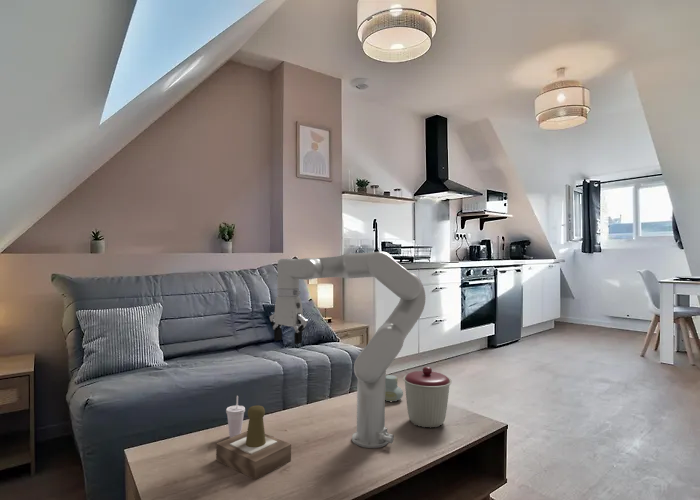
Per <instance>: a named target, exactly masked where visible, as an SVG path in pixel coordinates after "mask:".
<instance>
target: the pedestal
mask: <svg viewBox="0 0 700 500" xmlns="http://www.w3.org/2000/svg"><path fill="white" fill-rule="evenodd" d="M247 431H248V430H245V431H244V432H241V434H239V435H236V436H234V437H231V438H230V437H229V438H227V439H224V440H221V441H219V442H216V445H215V446H216V448H215V450H216V451H215V461H216V462H219V463H221V464H223V465H225V466H226V467H229V468H231V469H233V470H234V471H237V472H239V473H241V474H243V475H244V476H247V477H249V478H251V479H252V480H255V481H256V480H258V479H259V478H261V477H263V476H266V475H267V474H268V473H271V472H272V471H275V470H276V469H279V468H280V467H283V466H285V465H286V464H287V463H290V462H291V461H292V443H289V442H287V441H284V440H282V439H279V438H278V437H274V436H271V435H269V434H266V433H265V440H266V443H265V444H264V445H263V446H260V447H248V446H246V438H247Z"/></svg>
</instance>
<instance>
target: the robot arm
mask: <svg viewBox="0 0 700 500" xmlns="http://www.w3.org/2000/svg"><path fill="white" fill-rule="evenodd" d="M324 278H325V279H326V278H343V279H359V278H361V279H363V278H375V279H376V280H377V281H378V282H380V283H381V284H382V285H383V286H385V287H386V288H387V289H388V290H389V291H390V292H392V293H393V294H394V295H395V296H397V297H399V302H398V303H397V305H395V308H394V309H393V310H392V312H391V314H389V316H388V317H387V319H386V320H385V321H384V322H383V324H382V325H380V327H379V328H378V329H377V330H376V332H375V334H373V336H372V338H371V339H370V340H369V342H368V343H367V345H366V346H365V347H364V348H363V349H362V350H361V351H360V352H359V353H358V356H357V357H356V359H355V361H354V363H353V372H354V376H355V377H356V378H357V388H356V389H357V390H356V391H357V393H356V394H357V395H356V431H355V432H354V433H353V434H352V436H351V440H352V442H353V444H354V445H357V446H359V447H361V448H365V449H366V448H367V449H377V448H382V447H384V446H386V445H387V444H393V442H394V434H392V433H388V428H387V427H385V426H386V425H385V421H386V420H385V419H386V418H385V417H386V416H385V415H386V411H385V410H386V401H385V379H386V376H387V370H388V368H389V367H390V365H392V363H393V361H394V360H395V359H396V357H397V356H398V355H399V353H400V352H401V350H402V348H403V346H404V342H405V339H406V338H407V336H408V335H409V333H411V330H412V329H413V328H414V327H415V324H416V323H417V322H418V320H419V319H420V317H421V316H422V314H423V312H424V310H425V305H426V291H425V288H424V285H423V283H422V280H421V279H420V278H419V276H418V275H416V273H413V272H410V271H409V270H408V269H406V268H405V267H404V266H402V264H400V263H398V261H397V260H395V259H394V258H393V256H392V255H391V254H390V253H389V252H386V251H381V250H380V251H374V252H372V251H371V252H370V251H369V252H358V253H345V254H342V255H338V256H337V255H336V256H327V257H306V258H300V259H299V258H298V259H296V258H280V259H279V260H278V261H277V284H276V285H277V293H276V294H277V296H276V299H275V302H274V303H275V304H274V305H275V306H274V313H273V314H271V315H269V320H270V324H271V326H272V330H274V331H273V334H274V335H273V337H274V338H273V341H274V342H277V341H281V340H282V339H283V338H282V337H283V335H282V333H283V330H282V329H283V328H282V326H283V327H284V326H285V327H293V329H294V331H295V332H294V341H293V342H294V344H295V345H298V344H302V343H303V332H304V331H305V329H306V327H307V324H308V319H307V318H306V317H304V314H303V302H302V299H301V297H300V294H301V290H300V289H299V288H300V287H299V286H300V281H299V280H304V281H305V280H306V281H309V280H310V281H311V280H314V279H324Z"/></svg>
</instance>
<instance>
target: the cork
mask: <svg viewBox="0 0 700 500" xmlns="http://www.w3.org/2000/svg"><path fill="white" fill-rule="evenodd" d="M265 414H266V410H265V408H264V406H262V405H252V406H250V407H248V410H247V417H248V418H249V419H248V425H247V430H246V431H247V438H246V446H248V447H260V446H263V445H264V444H265V443H266V440H265V434H266V433H265V432H266V431H265V423H264V416H265Z"/></svg>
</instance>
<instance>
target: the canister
mask: <svg viewBox="0 0 700 500" xmlns="http://www.w3.org/2000/svg"><path fill="white" fill-rule="evenodd" d="M402 380H403V382H404V386H405V396H406V397H405V399H406V409H407V416H408V418H409V421H410V422H411V423H412V424H413V423H414V424H413V425H415V426H417V425H418V427H420V426H422V427H421V428H425V427H430V428H429V429H432V428H431V427H435V428H438V427H440V425H441V426H442V425H443V424H444V422H445V420H446V416H447V410H448V403H449V392H450V385H451V384H452V380H451V379H450V377H448V376H447V375H445V374H443V373H441V372H437V371H433V370H432V368H431V367H430V366H424V367H423V368H422V370H417V371H411V372H409V373H407V374H405V375H404V376H403V377H402Z"/></svg>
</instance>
